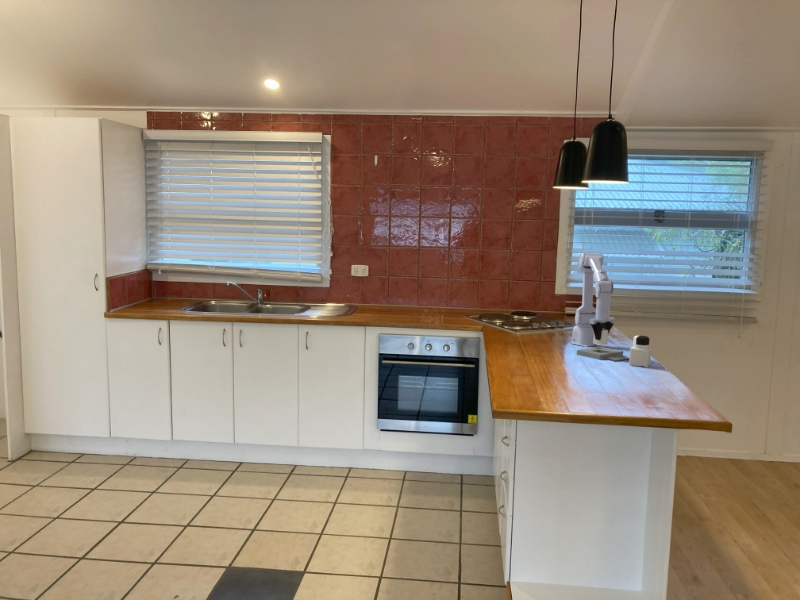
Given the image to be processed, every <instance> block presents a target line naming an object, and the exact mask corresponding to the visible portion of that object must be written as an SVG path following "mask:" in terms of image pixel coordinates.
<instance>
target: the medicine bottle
mask: <svg viewBox="0 0 800 600" xmlns="http://www.w3.org/2000/svg"><path fill="white" fill-rule="evenodd" d="M632 340H633V341H632V342H633V344H632V346H631V347H630V348H629V358H630V359H629V360H628V361H629V362H628V365H629V366H630V365H633V366H632V367H638V366H645V367H644V368H646V367H647V368H649V366H650V365H651V359H652V358H651V357H652V347H650V337H649V336H647V335H634V336H633V339H632ZM649 364H650V365H649Z"/></svg>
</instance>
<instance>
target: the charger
mask: <svg viewBox="0 0 800 600" xmlns="http://www.w3.org/2000/svg"><path fill="white" fill-rule="evenodd" d="M608 339H609V334H608V330H604V328H603V330H602V334H601V339H600V340H596V339H595V334H594V338H593V344H597V345H599V346H600V345H601V346H603V345H608Z"/></svg>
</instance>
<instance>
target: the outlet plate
mask: <svg viewBox="0 0 800 600" xmlns="http://www.w3.org/2000/svg"><path fill="white" fill-rule="evenodd" d="M576 355H578V356H581V357H587V358H591V359H595V360H600V361H601V360H604V359H605V360H606V358H610V357H617V356H622V357H624V351H623V350H619V349H613V348H609V347H603V346H595V347H588V348H581V349H577V350H576Z"/></svg>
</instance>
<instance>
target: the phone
mask: <svg viewBox="0 0 800 600" xmlns="http://www.w3.org/2000/svg"><path fill="white" fill-rule="evenodd" d="M629 359H630V357H626V356H617V357H610V358H606V359H605V360H606V361H611V362H613V363H617V362H618V361H619V362H625V361H624V360H626V361H629Z"/></svg>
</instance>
